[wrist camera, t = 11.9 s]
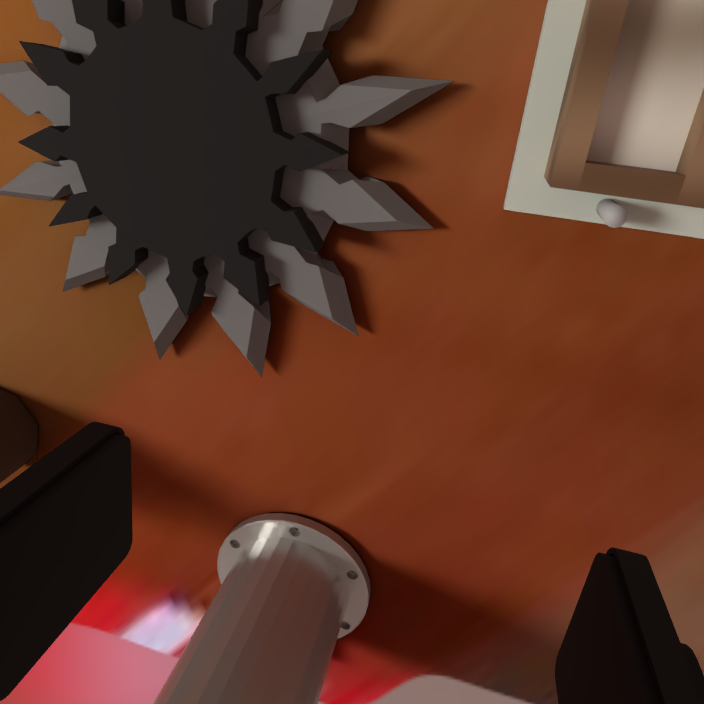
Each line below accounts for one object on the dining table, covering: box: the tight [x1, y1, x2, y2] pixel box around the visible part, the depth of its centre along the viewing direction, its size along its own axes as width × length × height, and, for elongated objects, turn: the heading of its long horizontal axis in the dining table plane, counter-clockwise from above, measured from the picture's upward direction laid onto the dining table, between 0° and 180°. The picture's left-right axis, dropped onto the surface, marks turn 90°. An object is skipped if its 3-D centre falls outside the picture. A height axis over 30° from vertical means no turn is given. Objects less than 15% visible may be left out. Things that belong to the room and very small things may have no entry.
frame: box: [544, 0, 704, 209], centre depth 24 cm, size 12×6×4 cm, turn 174°
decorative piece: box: [0, 0, 454, 377], centre depth 32 cm, size 30×4×30 cm
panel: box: [504, 0, 704, 239], centre depth 25 cm, size 16×10×4 cm, turn 174°
